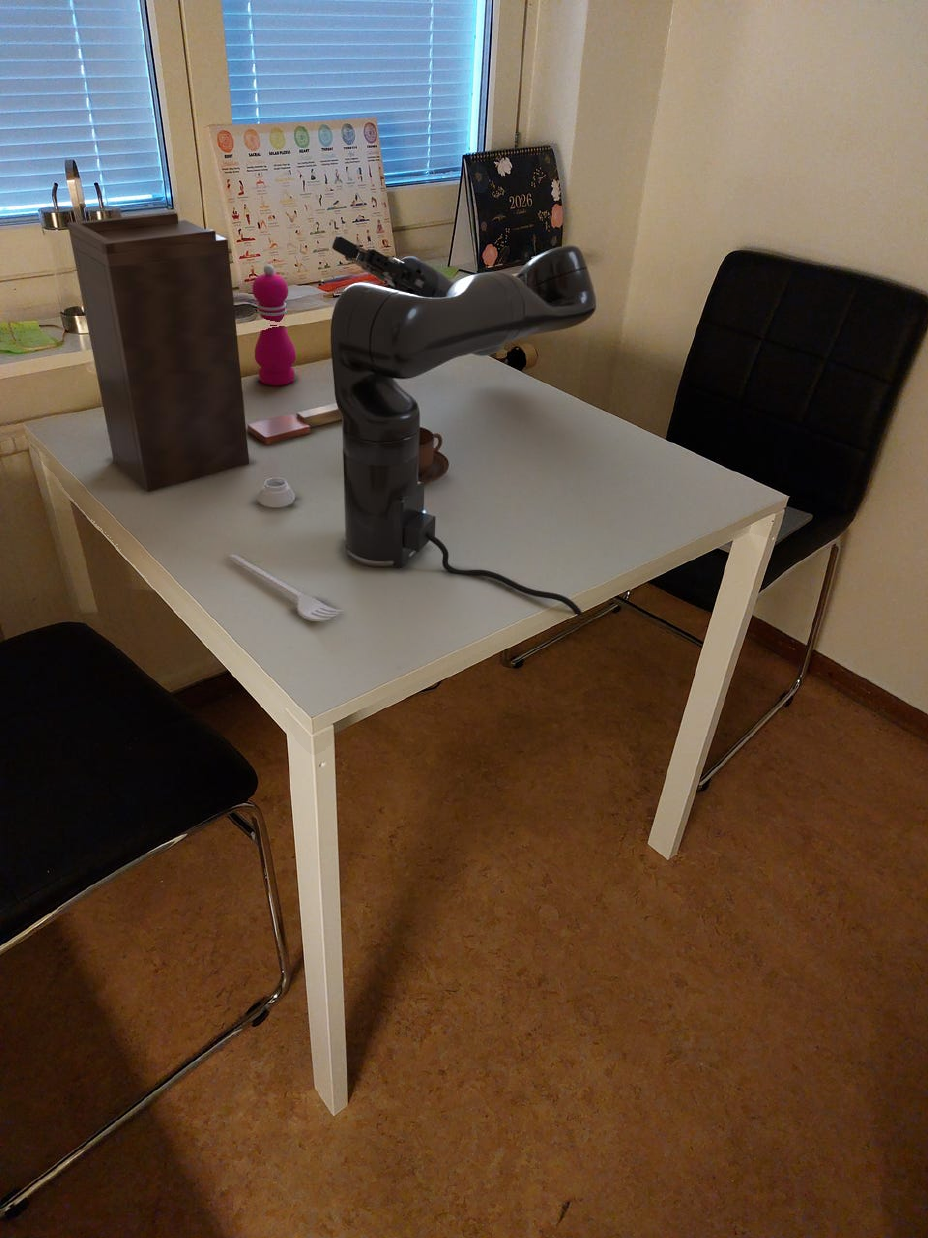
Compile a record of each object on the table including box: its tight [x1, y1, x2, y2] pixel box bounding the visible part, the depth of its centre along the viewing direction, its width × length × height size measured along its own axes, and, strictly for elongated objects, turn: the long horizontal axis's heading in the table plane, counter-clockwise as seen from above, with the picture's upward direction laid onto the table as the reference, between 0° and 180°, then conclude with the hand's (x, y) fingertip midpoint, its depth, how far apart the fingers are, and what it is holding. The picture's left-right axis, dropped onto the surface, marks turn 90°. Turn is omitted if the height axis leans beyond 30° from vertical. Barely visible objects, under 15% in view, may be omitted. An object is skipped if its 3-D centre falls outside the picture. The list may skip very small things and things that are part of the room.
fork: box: [229, 554, 346, 622], centre depth 107 cm, size 3×20×2 cm, turn 48°
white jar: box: [257, 477, 296, 508], centre depth 125 cm, size 5×3×5 cm
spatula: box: [246, 402, 342, 445], centre depth 147 cm, size 22×6×2 cm, turn 129°
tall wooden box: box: [67, 211, 250, 493], centre depth 124 cm, size 16×12×33 cm
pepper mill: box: [252, 264, 297, 386], centre depth 156 cm, size 7×7×20 cm
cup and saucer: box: [418, 426, 450, 485], centre depth 133 cm, size 12×12×6 cm
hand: (351, 248), depth 135 cm, fingers open, 8 cm apart
